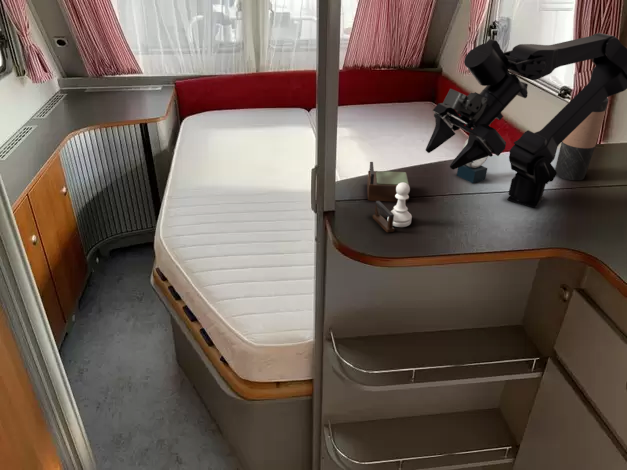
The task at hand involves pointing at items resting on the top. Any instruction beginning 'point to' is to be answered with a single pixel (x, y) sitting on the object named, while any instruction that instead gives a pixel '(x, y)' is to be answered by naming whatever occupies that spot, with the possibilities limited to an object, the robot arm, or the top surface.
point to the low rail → (380, 220)
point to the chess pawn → (401, 206)
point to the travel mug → (580, 146)
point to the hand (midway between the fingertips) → (438, 159)
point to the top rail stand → (384, 184)
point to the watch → (473, 170)
